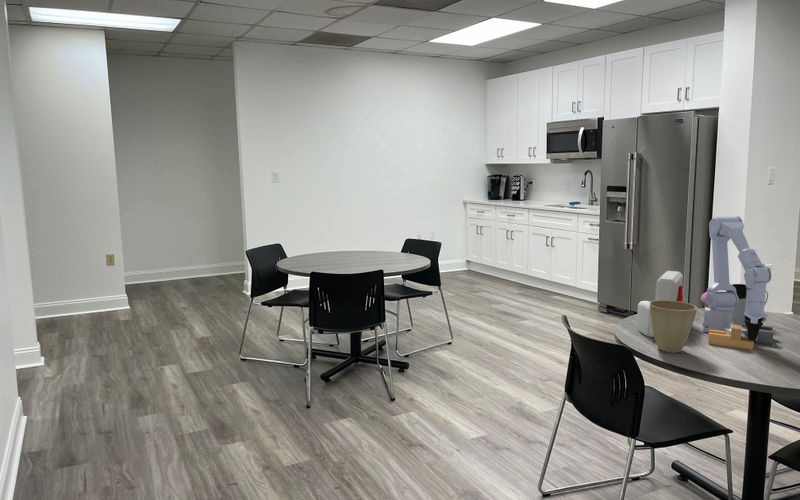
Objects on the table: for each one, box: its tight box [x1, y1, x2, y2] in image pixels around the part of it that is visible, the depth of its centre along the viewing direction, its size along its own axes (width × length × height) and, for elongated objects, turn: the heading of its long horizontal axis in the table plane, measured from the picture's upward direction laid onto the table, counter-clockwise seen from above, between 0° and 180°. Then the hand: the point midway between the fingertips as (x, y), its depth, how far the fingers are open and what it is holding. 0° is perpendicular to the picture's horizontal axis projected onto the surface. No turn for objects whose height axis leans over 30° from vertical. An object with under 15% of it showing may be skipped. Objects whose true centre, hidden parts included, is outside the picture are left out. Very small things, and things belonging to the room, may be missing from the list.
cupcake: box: [700, 291, 709, 313], centre depth 256 cm, size 9×9×10 cm
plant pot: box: [649, 300, 698, 354], centre depth 208 cm, size 15×15×16 cm
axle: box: [725, 328, 757, 341], centre depth 213 cm, size 10×3×3 cm, turn 60°
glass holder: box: [731, 283, 769, 326], centre depth 242 cm, size 9×14×15 cm, turn 82°
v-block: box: [754, 324, 774, 346], centre depth 219 cm, size 8×10×4 cm
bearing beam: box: [707, 323, 755, 350], centre depth 214 cm, size 14×6×7 cm, turn 60°
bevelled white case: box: [654, 270, 684, 302], centre depth 240 cm, size 21×8×20 cm, turn 148°
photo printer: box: [636, 300, 655, 338], centre depth 228 cm, size 10×4×12 cm, turn 3°
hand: (752, 338), depth 211 cm, fingers open, 4 cm apart
